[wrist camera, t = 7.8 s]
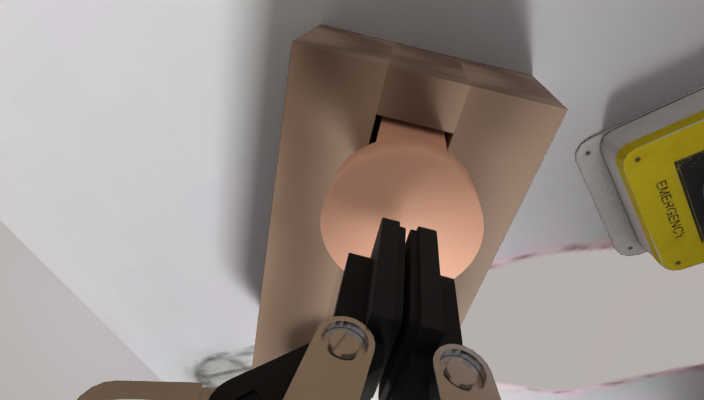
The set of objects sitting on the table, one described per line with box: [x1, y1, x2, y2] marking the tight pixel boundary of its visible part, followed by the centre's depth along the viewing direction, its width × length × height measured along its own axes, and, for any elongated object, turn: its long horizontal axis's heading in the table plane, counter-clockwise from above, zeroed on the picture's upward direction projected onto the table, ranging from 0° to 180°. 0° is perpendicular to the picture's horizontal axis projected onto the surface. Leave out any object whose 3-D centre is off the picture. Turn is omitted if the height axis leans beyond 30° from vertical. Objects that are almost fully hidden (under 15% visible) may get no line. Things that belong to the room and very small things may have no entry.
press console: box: [252, 25, 568, 369], centre depth 26 cm, size 12×24×6 cm, turn 168°
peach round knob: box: [320, 116, 484, 279], centre depth 17 cm, size 6×6×8 cm
